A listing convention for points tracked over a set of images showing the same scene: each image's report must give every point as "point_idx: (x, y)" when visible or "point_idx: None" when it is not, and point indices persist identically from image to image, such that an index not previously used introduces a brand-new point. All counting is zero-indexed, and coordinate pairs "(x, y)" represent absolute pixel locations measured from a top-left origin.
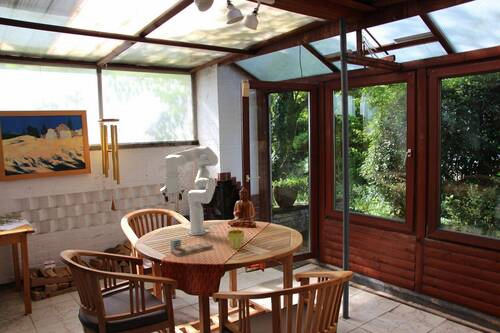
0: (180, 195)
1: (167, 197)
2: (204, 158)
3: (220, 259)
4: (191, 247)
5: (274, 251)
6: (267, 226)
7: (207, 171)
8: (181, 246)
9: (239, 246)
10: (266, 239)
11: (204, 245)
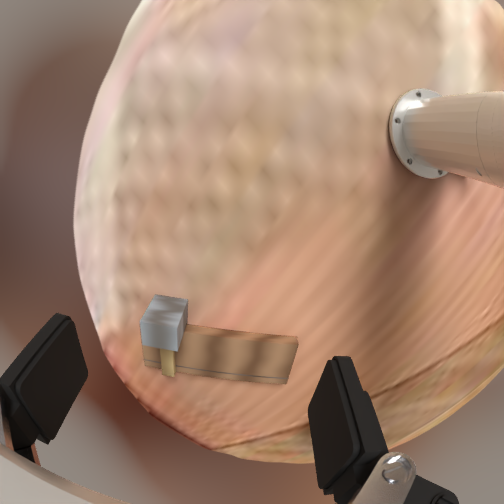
0: (318, 476)
1: (49, 425)
2: None
3: (226, 436)
4: (214, 355)
5: None
6: None
7: None
8: (171, 354)
9: None
10: (435, 389)
11: (265, 369)
